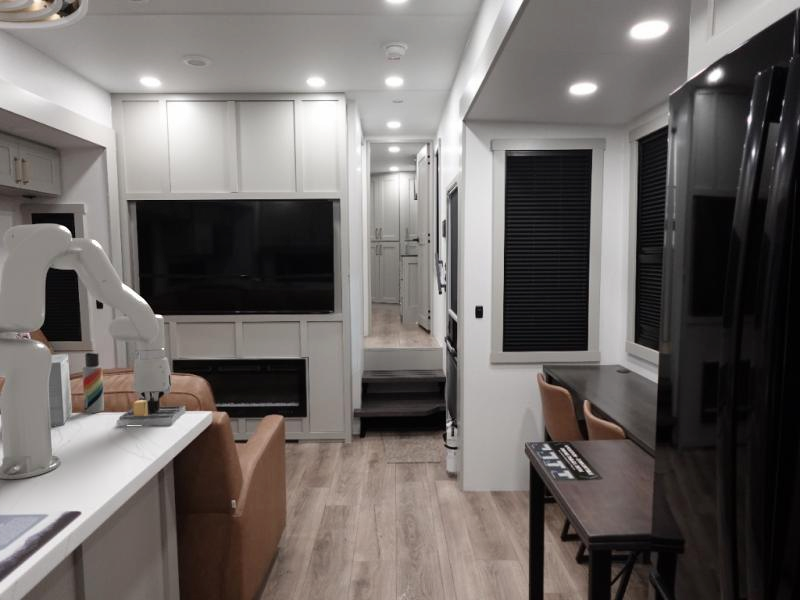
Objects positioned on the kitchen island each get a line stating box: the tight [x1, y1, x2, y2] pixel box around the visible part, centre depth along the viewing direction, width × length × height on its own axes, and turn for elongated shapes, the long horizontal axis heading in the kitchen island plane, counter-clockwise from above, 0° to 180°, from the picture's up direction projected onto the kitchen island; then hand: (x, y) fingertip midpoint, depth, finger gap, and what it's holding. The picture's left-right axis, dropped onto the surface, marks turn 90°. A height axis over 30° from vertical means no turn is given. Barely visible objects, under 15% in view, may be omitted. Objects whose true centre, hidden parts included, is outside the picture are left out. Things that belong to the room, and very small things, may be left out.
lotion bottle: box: [82, 352, 105, 414], centre depth 174 cm, size 6×6×20 cm
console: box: [116, 405, 187, 427], centre depth 165 cm, size 14×16×3 cm
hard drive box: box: [49, 353, 73, 427], centre depth 164 cm, size 16×8×20 cm, turn 25°
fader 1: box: [138, 395, 148, 406], centre depth 167 cm, size 3×3×5 cm
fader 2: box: [133, 399, 148, 416], centre depth 161 cm, size 3×3×5 cm
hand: (154, 412), depth 162 cm, fingers closed
